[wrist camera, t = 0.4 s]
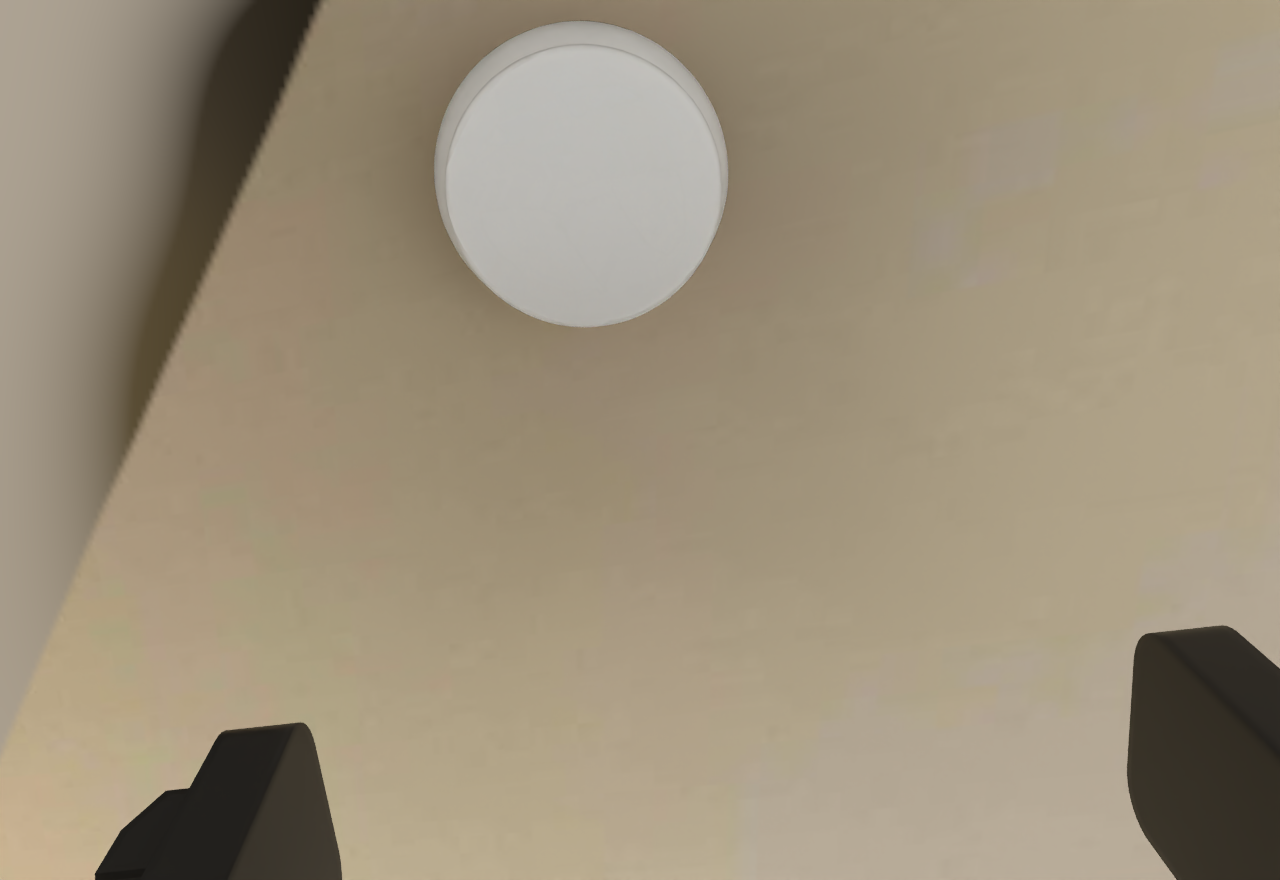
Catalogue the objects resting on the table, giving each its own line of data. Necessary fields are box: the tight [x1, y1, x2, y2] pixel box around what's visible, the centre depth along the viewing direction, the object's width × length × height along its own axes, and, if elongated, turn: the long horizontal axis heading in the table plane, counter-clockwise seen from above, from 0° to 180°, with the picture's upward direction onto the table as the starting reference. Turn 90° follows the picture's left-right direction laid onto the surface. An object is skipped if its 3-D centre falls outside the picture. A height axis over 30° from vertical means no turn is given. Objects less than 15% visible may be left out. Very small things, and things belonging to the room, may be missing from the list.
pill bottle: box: [434, 21, 728, 327], centre depth 23 cm, size 6×6×10 cm
